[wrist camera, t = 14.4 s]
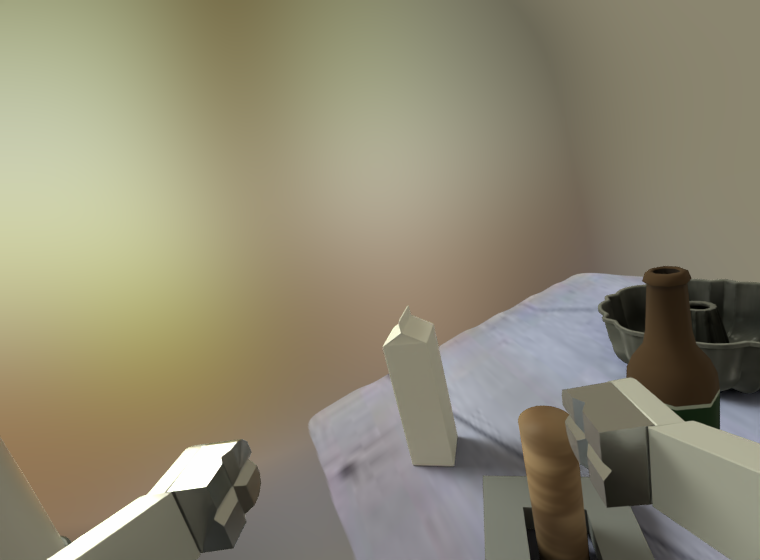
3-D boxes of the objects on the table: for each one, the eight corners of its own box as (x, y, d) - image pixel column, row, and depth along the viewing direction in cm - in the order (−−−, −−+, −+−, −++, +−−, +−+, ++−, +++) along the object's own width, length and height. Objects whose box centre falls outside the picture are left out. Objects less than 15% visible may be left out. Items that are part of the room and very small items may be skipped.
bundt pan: (606, 324, 75) (602, 280, 72) (791, 328, 59) (794, 272, 57) (597, 396, 55) (591, 338, 52) (875, 433, 39) (885, 352, 37)
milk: (458, 436, 53) (430, 301, 48) (454, 467, 48) (423, 319, 43) (419, 436, 55) (388, 306, 50) (411, 466, 50) (376, 324, 45)
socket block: (492, 638, 30) (486, 613, 29) (486, 495, 43) (482, 475, 42) (692, 667, 26) (691, 639, 25) (618, 499, 38) (617, 477, 38)
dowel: (543, 583, 33) (521, 440, 29) (536, 537, 37) (515, 406, 33) (597, 589, 31) (581, 440, 27) (583, 540, 35) (567, 404, 31)
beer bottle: (729, 506, 35) (731, 280, 29) (634, 485, 40) (619, 285, 34) (711, 450, 41) (710, 255, 36) (630, 438, 46) (617, 262, 40)
